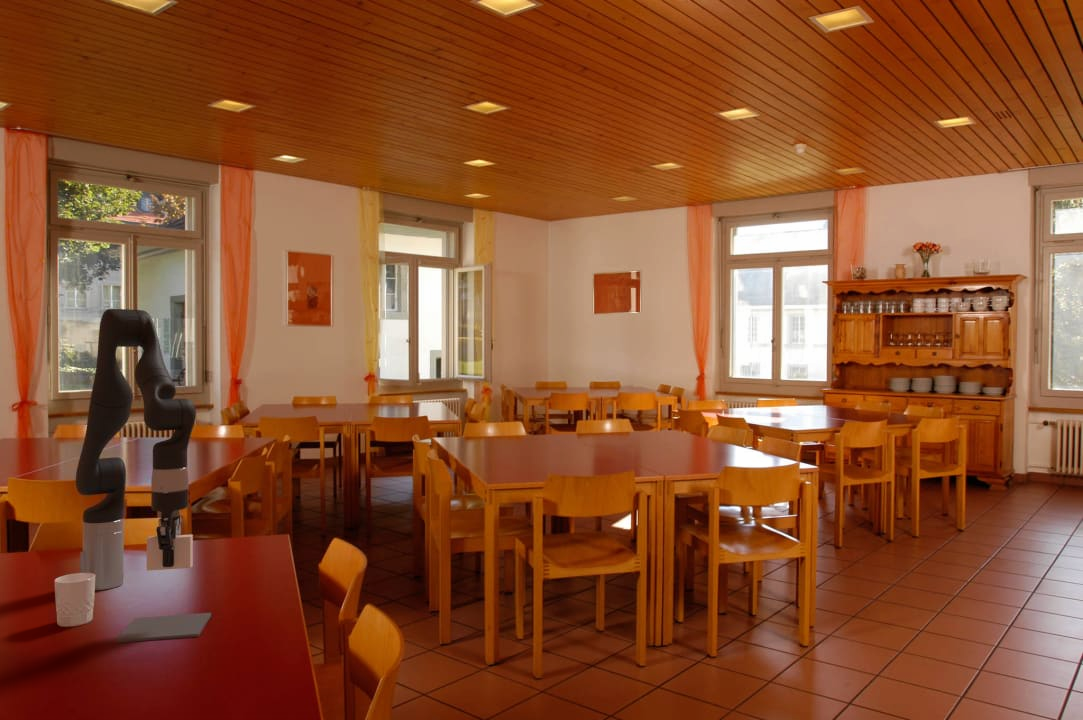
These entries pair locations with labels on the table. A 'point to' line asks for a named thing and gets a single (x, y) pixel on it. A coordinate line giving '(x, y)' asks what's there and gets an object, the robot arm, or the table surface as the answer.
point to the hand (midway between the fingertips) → (170, 564)
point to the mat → (164, 627)
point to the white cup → (74, 599)
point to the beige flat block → (181, 553)
